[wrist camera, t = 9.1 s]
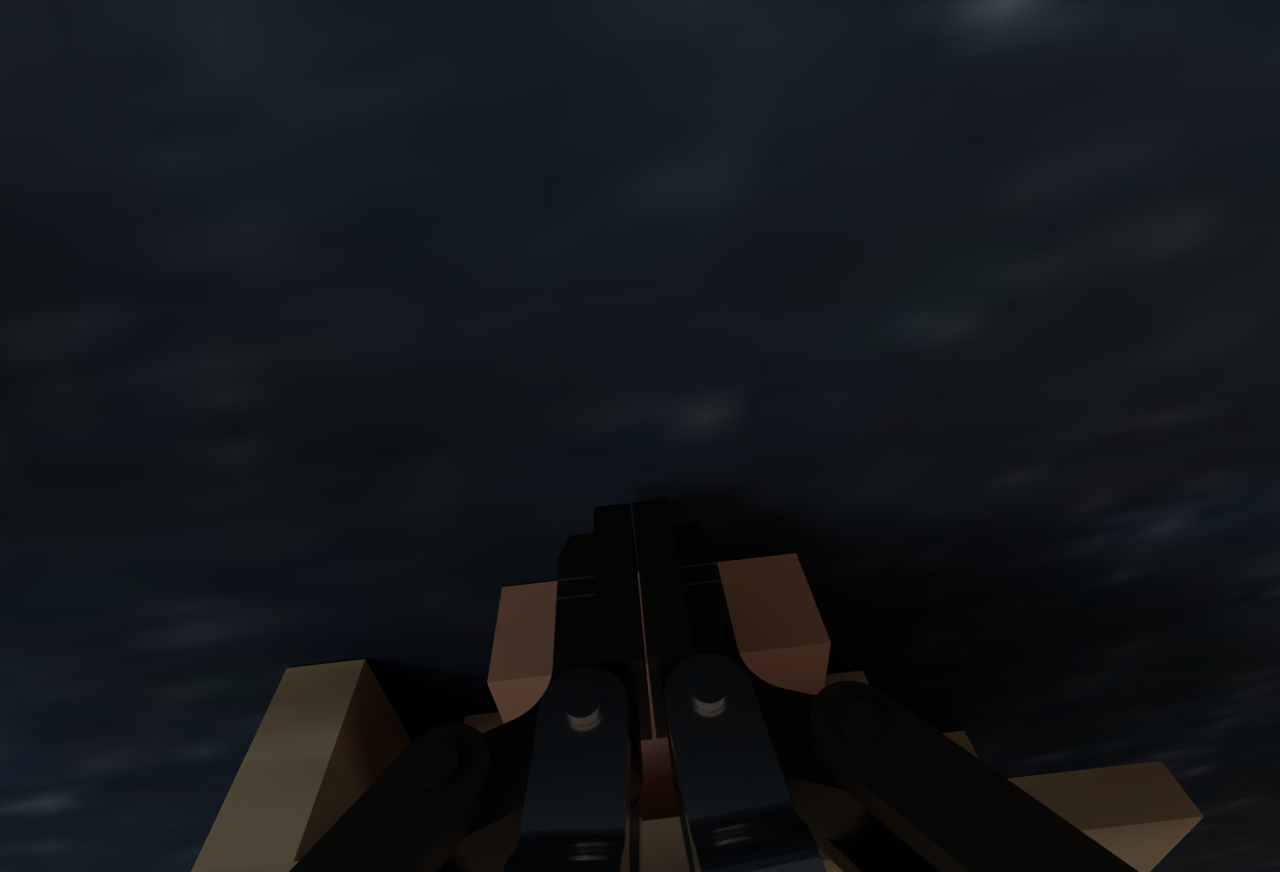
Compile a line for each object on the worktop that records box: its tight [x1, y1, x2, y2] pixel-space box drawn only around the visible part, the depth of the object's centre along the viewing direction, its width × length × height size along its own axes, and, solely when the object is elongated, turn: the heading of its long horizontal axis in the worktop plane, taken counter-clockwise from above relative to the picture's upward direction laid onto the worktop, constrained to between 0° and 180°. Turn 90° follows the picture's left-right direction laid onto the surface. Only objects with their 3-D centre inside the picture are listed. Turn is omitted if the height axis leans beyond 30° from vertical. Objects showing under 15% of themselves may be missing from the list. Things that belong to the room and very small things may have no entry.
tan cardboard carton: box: [487, 553, 831, 821], centre depth 15 cm, size 8×7×2 cm
